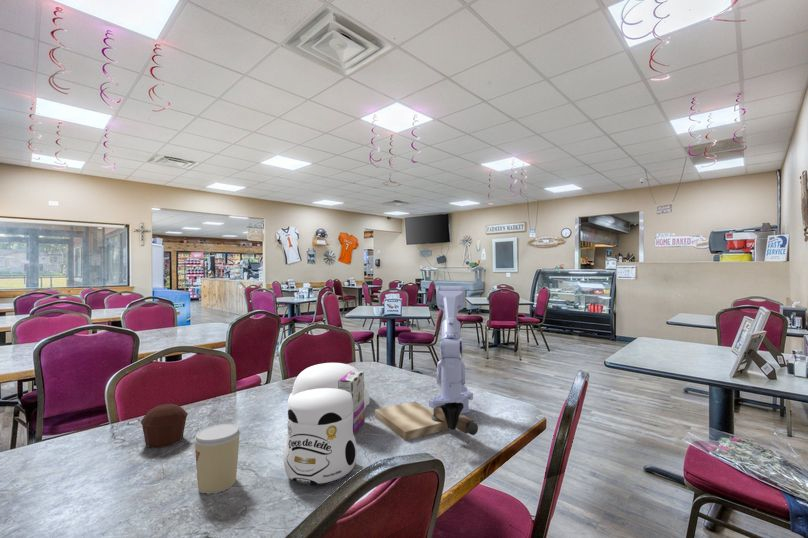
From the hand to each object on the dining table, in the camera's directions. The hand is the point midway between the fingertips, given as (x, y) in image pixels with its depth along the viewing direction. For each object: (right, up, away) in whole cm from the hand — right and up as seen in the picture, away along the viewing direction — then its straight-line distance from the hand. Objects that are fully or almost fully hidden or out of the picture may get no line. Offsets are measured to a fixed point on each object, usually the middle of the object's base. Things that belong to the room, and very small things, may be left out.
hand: (451, 428), depth 104 cm
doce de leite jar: (-34, -4, -16) cm, 38 cm away
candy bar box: (-30, -4, +9) cm, 32 cm away
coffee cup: (-56, -4, -21) cm, 60 cm away
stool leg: (+1, 0, +4) cm, 4 cm away
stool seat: (-12, -4, +13) cm, 18 cm away
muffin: (-83, -4, +1) cm, 83 cm away
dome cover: (-42, -5, +32) cm, 53 cm away
